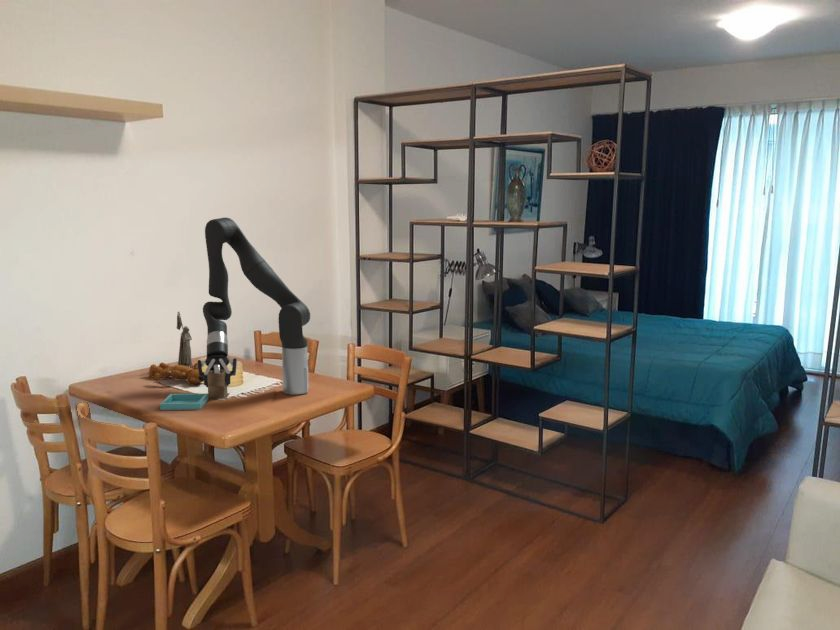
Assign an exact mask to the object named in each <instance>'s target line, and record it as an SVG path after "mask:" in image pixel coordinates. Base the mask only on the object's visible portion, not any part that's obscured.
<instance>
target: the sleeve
mask: <svg viewBox="0 0 840 630" xmlns="http://www.w3.org/2000/svg"><path fill="white" fill-rule="evenodd" d="M226 375H227V373H226V370H220V373H214V370H210V371H209V372H208V373H207V378H208V387H207V393H208V398H225V397H226V395H227V394H228V393H229V391H228V386H226Z"/></svg>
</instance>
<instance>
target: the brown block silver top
mask: <svg viewBox="0 0 840 630" xmlns="http://www.w3.org/2000/svg"><path fill="white" fill-rule="evenodd" d="M214 373H220V364H215V365H214ZM229 395H230V392H228V394H227V395H226V397H225V398H208V400H225V399H227V398H228V397H229Z"/></svg>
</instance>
